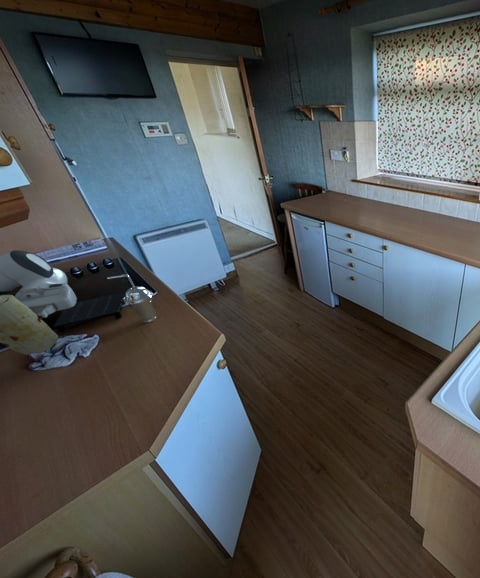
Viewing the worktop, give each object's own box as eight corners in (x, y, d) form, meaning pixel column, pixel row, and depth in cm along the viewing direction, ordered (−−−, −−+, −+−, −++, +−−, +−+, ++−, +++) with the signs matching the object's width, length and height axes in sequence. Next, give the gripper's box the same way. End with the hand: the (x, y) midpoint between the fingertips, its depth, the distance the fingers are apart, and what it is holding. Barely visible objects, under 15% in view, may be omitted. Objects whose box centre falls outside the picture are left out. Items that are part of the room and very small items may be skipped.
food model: (58, 332, 94) (9, 287, 81) (64, 344, 91) (14, 298, 78) (17, 351, 88) (-44, 305, 75) (21, 364, 86) (-41, 318, 72)
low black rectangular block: (57, 333, 103) (52, 326, 101) (71, 310, 114) (66, 304, 113) (121, 318, 110) (118, 311, 109) (128, 298, 122) (124, 291, 121)
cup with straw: (159, 323, 108) (135, 276, 97) (130, 328, 105) (103, 280, 95) (166, 310, 114) (144, 265, 104) (138, 315, 112) (113, 269, 101)
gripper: (-17, 298, 88) (-43, 323, 78) (73, 282, 97) (60, 302, 87) (-2, 315, 92) (-26, 340, 82) (83, 297, 101) (71, 319, 90)
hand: (19, 320), depth 84 cm, fingers closed on food model, 8 cm apart
